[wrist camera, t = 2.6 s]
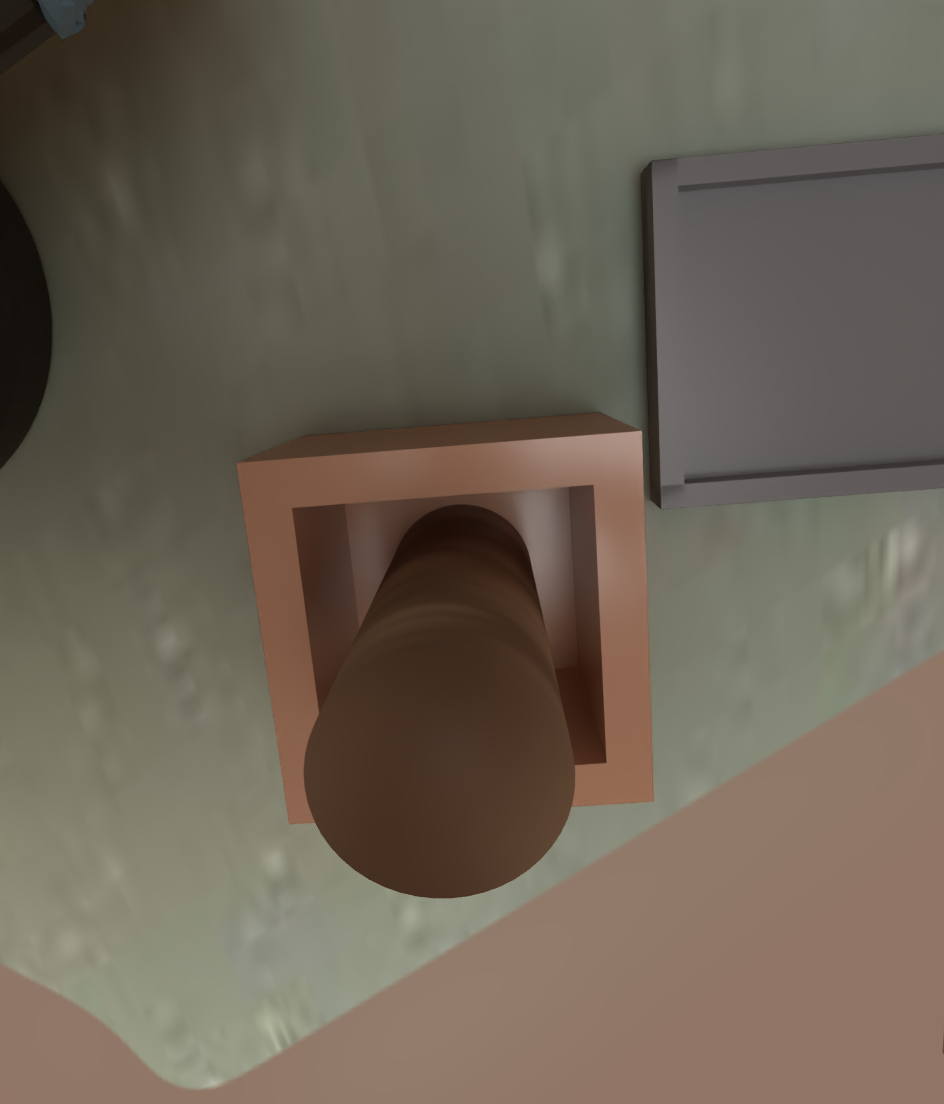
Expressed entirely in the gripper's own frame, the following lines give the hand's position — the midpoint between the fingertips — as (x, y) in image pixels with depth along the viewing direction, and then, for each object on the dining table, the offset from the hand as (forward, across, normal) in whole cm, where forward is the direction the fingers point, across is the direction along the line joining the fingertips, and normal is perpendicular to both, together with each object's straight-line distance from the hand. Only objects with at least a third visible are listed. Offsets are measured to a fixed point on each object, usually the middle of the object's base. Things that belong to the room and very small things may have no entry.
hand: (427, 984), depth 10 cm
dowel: (+20, 0, 0) cm, 20 cm away
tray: (+20, +14, +8) cm, 26 cm away
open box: (+20, 0, 0) cm, 20 cm away
